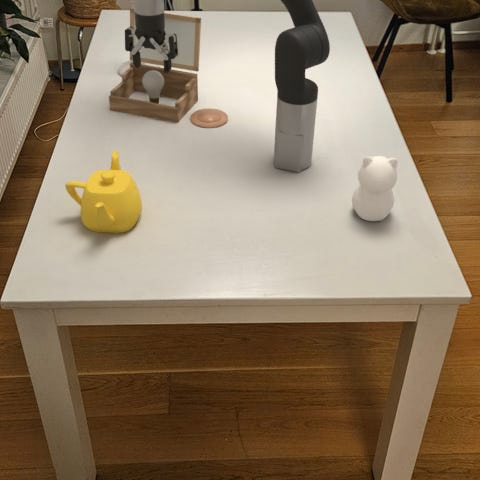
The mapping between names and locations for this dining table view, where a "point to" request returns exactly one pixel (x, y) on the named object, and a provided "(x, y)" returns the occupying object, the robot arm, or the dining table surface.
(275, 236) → the dining table surface
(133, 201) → the teapot
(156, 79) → the light bulb
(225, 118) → the saucer
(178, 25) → the lid
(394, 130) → the dining table surface
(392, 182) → the cat figurine
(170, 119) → the cold frame
